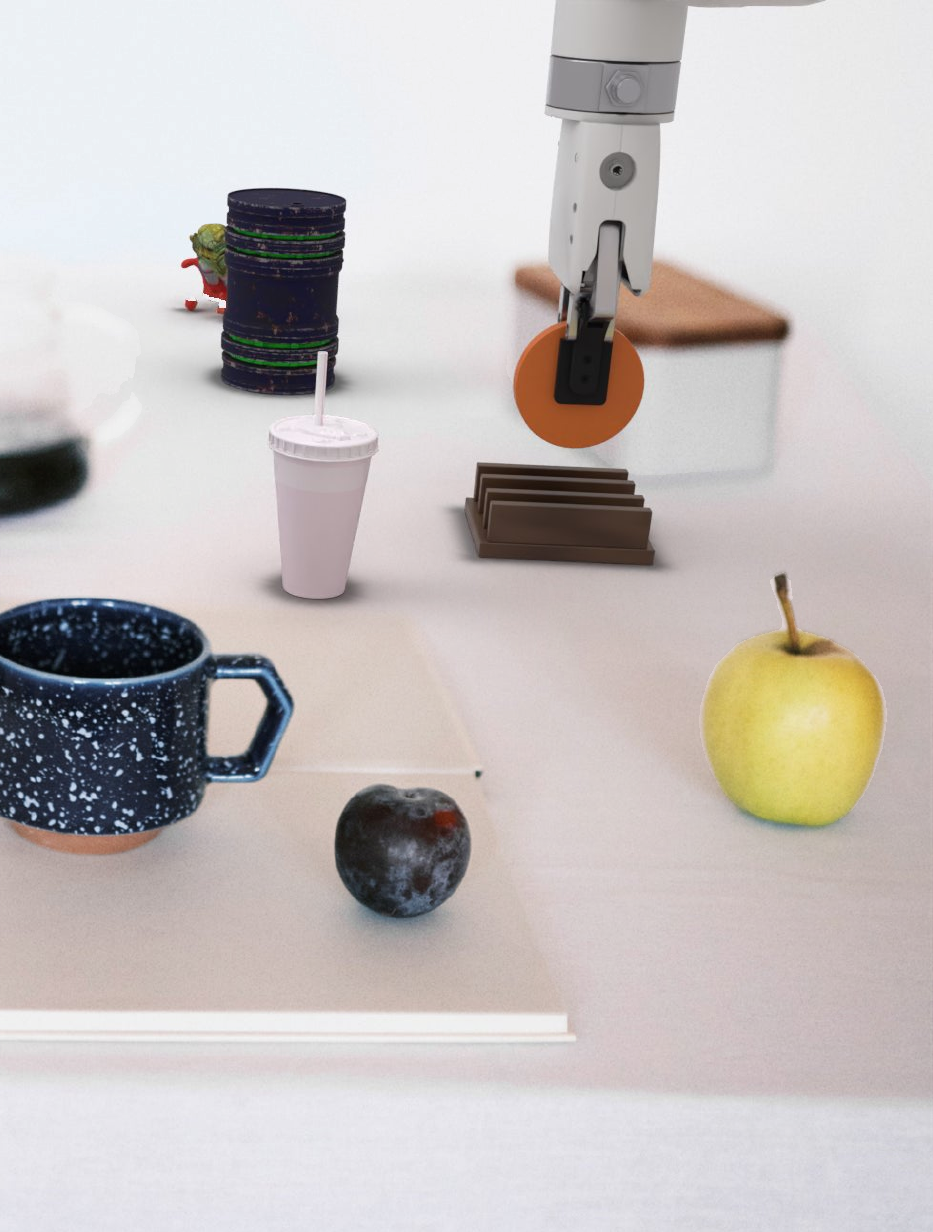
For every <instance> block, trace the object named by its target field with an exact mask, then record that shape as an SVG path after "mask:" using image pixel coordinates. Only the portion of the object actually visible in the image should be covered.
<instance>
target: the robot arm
mask: <svg viewBox="0 0 933 1232" xmlns="http://www.w3.org/2000/svg"><path fill="white" fill-rule="evenodd" d="M825 1H826V0H555V5H554V16H553V26H552V35H551V47H550V54H551V55H550V56H549V63H548V74H547V84H546V94H545V104H544V115H545V116H548V117H554V118H556V119H561V126H560V132H559V140H558V143H557V146H558V148H557V156H556V162H555V163H556V164H555V172H554V181H553V190H552V200H551V209H550V219H549V233H548V264H549V268H550V269H551V271H552V272H553V274H554V275H555V276H556V278H557V280H559V282H560V290H559V301H558V309H557V310H558V311H557V320H556V321H557V322H556V324H557V323H559V322H563V321H566V320H567V323H566V334H565V338H560V342H559V351H558V361H557V370H556V379H555V389H554V399H555V401H556V402H557V403H558V404H571V405H598V406H600V405H603V404H604V403H605V402H606V399H607V391H608V382H609V374H610V366H611V357H612V349H613V341H612V340H613V334H614V328H616V327H615V326H616V319H617V311H618V304H619V297H620V289H621V283H622V285H624V286H625V288H626V289H627V290H628V291H629V292H630V293H631V294H632V295H633V296H635V297H639V298H641V297H643V296H644V295H646V293H647V292H648V291H649V290H650V287H651V282H652V270H653V259H654V249H655V238H656V237H655V236H656V223H657V215H658V214H657V213H658V201H659V189H660V188H659V187H660V172H661V171H660V169H661V168H660V167H661V124H668V123H672V122H674V120H675V112H676V111H675V110H676V105H677V99H678V97H677V96H678V91H679V90H678V89H679V83H680V76H681V75H680V74H681V65H682V62H681V60H682V57H683V49H684V42H685V35H686V26H687V19H688V12H689V11H688V10H689V7H694V8H708V9H709V8H711V9H712V8H714V9H715V8H746V7H805V6H810V5H811V6H812V5H815V4H819V3H821V2H825Z"/></svg>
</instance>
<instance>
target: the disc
mask: <svg viewBox="0 0 933 1232" xmlns="http://www.w3.org/2000/svg"><path fill="white" fill-rule="evenodd" d="M566 323H567V320H566V321H563V322H559V323H557V322H556V323H554V324H553V325H550V326H549V327H547V328H545V329H544V330H542V331H541V332H539V333H538V334H537V335H535V337H534V338H533V339H531V341H530V342H529V343H528V344H527V346H526V347H525V348H524V349H523V351H522V353H521V354H520V356H519V359H518V361H517V363H516V366H515V370H514V374H513V382H512V383H513V385H512V390H513V397H514V402H515V405H516V408H517V410H518V412H519V414H520V416H521V418H522V420H523V422H524V423H525V424H526V426H527V428H529V430H530V431H531V432H532V433H533V434H535V436H537V437H538V438H539V439H541V440H543V441H545V442H546V443H548V444H551V445H553V446H556V447H560V448H564V449H572V450H573V449H586V448H591V447H595V446H598V445H600V444H602V443H605V442H607V441H609V440H611V439H612V438H614V437H615V436H617V435H618V434H620V433H621V432H622V431H623V430H624V429H625V428H626V427H627V426H628V425H629V423H630V422H631V421H632V419H633V418H634V416H635V415H636V414H637V411H638V409H639V408H640V405H641V402H642V399H643V396H644V391H645V370H644V366H643V362H642V360H641V358H640V355H639V353H638V351H637V350H636V348H635V347H634V345H633V344H632V342H631V341H630V340H629V339H628V338H627V337H626V336H625V335H624V334H623V333H622V332H621V331H620V330H619V329H617V328H616V327H614V334H613V340H612V341H613V349H612V357H611V366H610V374H609V382H608V391H607V399H606V402H605V403H604V404H603V405H600V406H598V405H571V404H558V403H557V402H556V401H555V399H554V389H555V379H556V370H557V361H558V351H559V342H560V338H565V334H566Z"/></svg>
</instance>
